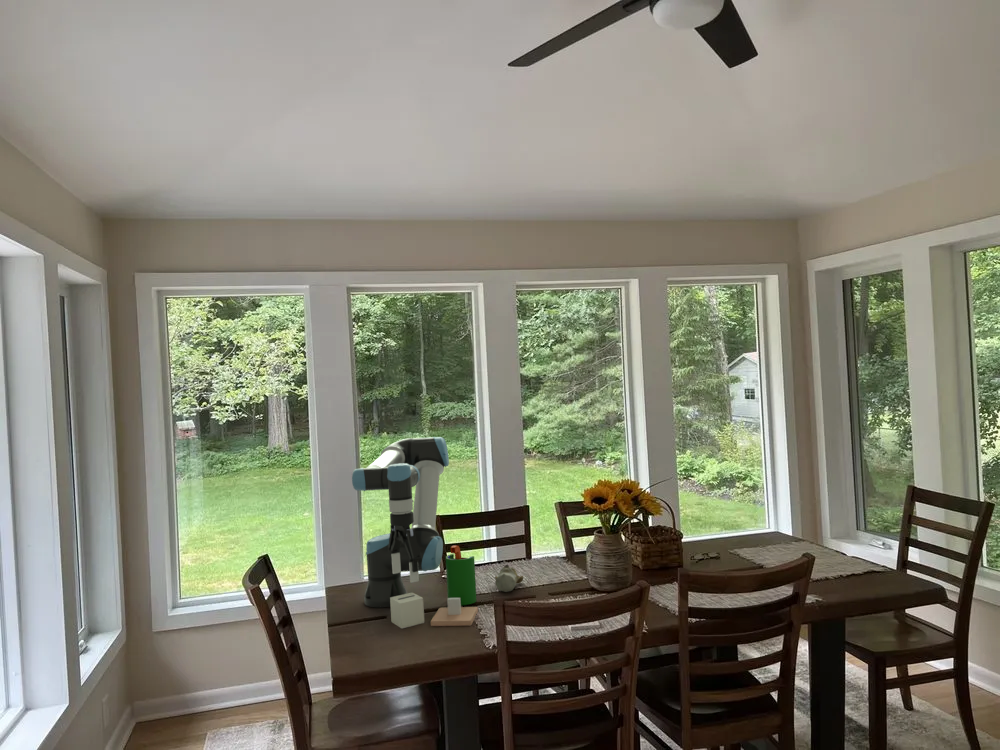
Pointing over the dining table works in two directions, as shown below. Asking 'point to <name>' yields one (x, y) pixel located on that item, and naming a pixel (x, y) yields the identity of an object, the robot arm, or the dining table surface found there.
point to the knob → (407, 610)
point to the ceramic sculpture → (507, 579)
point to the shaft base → (454, 614)
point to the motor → (461, 577)
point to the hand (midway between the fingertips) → (405, 577)
